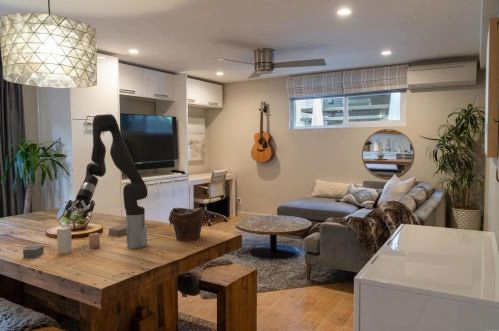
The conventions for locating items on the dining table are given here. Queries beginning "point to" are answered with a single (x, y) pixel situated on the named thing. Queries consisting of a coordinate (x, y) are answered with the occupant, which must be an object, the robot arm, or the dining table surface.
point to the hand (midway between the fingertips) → (75, 217)
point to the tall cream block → (64, 240)
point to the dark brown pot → (187, 223)
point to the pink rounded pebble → (94, 240)
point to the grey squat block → (33, 251)
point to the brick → (118, 230)
